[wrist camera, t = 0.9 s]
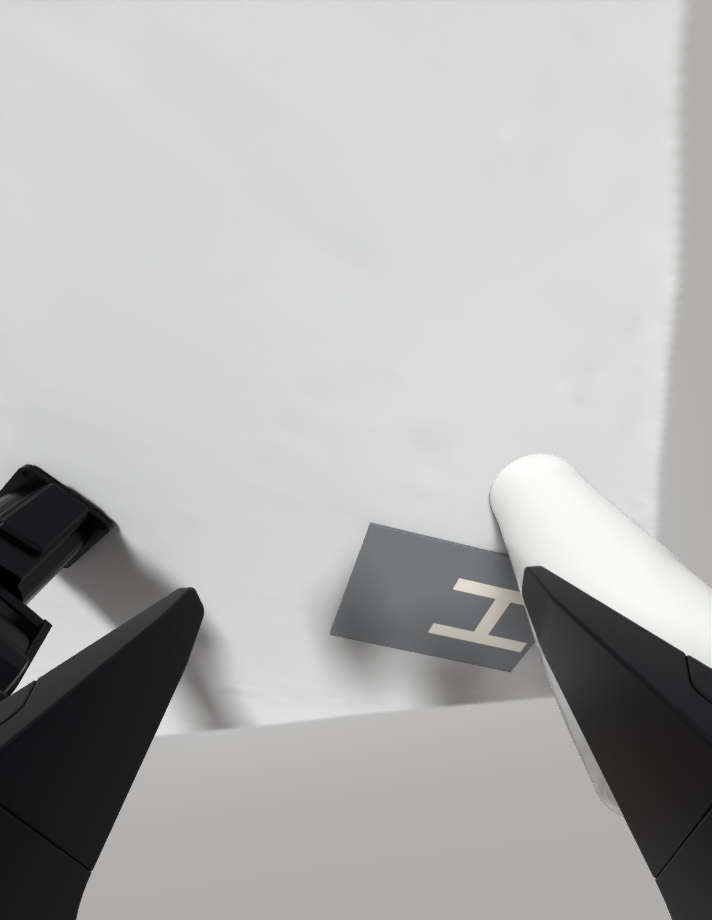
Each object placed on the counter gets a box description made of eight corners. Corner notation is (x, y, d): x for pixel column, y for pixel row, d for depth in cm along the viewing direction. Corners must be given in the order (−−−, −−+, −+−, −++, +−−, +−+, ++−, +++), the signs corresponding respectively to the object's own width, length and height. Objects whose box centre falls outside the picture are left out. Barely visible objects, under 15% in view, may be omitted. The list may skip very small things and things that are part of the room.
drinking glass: (453, 501, 24) (545, 795, 11) (525, 418, 21) (764, 687, 8) (534, 543, 26) (698, 847, 13) (612, 470, 23) (934, 771, 10)
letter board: (330, 631, 31) (330, 634, 31) (370, 522, 25) (370, 525, 25) (509, 668, 33) (510, 672, 32) (585, 573, 27) (587, 577, 27)
